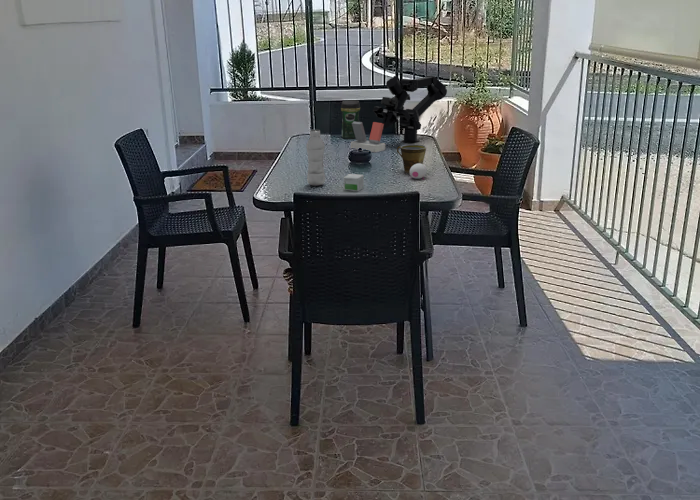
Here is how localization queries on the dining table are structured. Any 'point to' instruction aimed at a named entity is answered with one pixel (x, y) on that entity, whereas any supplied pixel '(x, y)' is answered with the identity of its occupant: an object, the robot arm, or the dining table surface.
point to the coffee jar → (349, 117)
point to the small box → (353, 182)
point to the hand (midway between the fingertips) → (383, 128)
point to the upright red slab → (376, 132)
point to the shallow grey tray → (368, 146)
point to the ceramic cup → (412, 155)
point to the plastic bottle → (315, 159)
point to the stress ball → (418, 171)
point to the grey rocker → (359, 131)
